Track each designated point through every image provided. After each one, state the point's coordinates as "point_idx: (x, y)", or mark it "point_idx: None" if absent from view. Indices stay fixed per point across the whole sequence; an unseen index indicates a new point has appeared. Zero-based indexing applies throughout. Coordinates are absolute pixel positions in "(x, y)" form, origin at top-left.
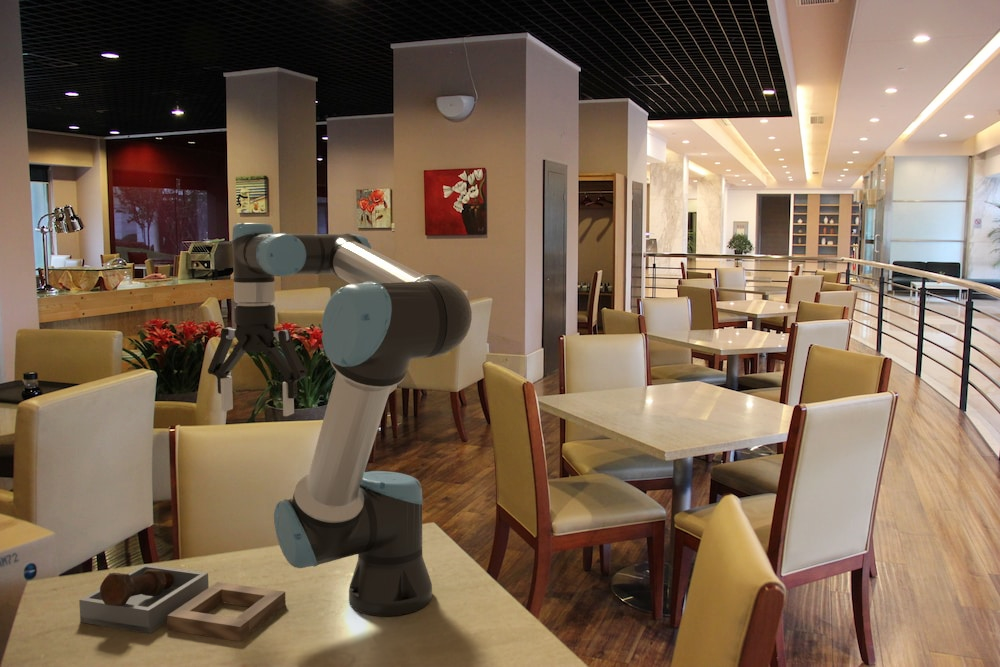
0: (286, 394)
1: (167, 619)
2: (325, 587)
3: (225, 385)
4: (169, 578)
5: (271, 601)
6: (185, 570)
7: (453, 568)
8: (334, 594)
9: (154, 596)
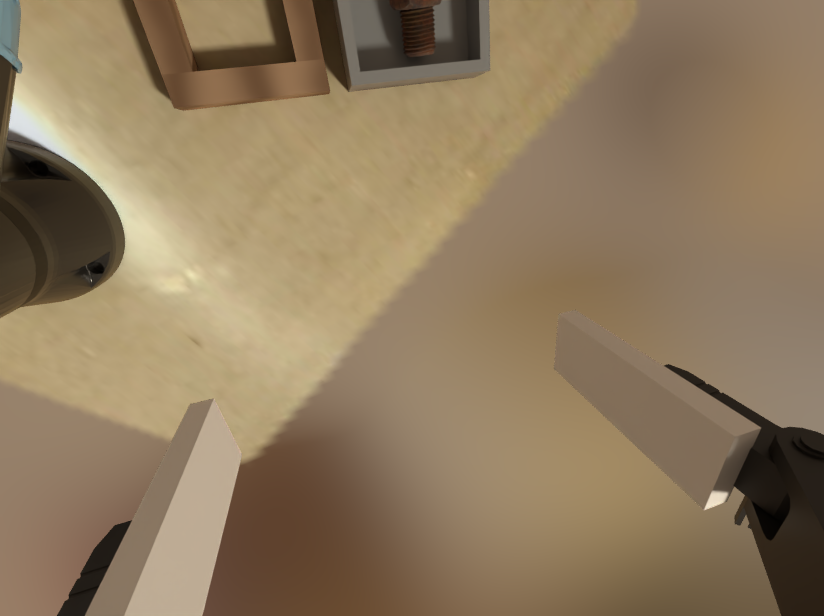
0: (127, 532)
1: None
2: (185, 208)
3: (675, 411)
4: (404, 35)
5: (153, 48)
6: (400, 77)
7: (56, 371)
8: (144, 191)
9: None
